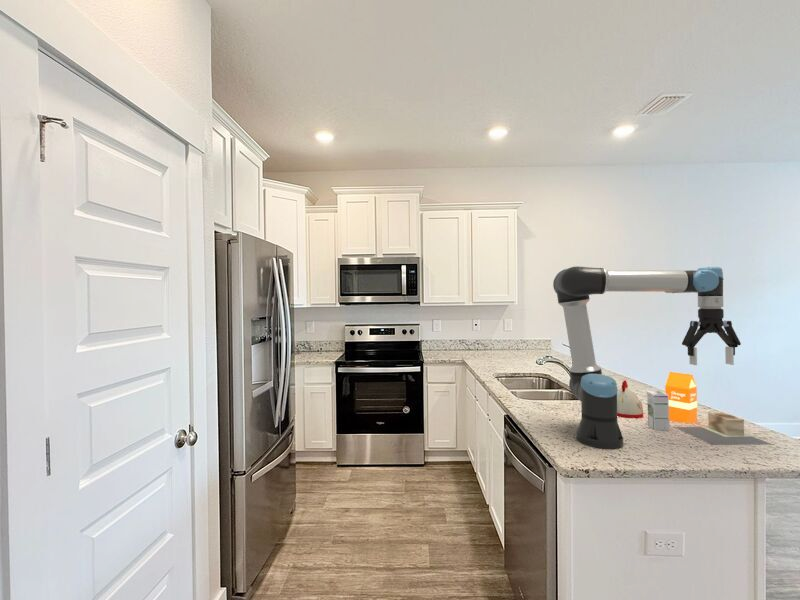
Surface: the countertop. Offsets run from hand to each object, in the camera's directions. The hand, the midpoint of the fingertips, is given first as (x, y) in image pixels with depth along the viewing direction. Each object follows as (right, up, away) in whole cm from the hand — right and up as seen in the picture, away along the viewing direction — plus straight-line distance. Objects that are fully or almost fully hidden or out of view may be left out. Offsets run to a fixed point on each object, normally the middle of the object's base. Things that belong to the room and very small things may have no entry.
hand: (711, 364), depth 145 cm
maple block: (+7, -26, +2) cm, 27 cm away
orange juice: (+2, -27, +19) cm, 33 cm away
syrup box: (-15, -27, +8) cm, 32 cm away
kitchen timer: (-16, -27, +29) cm, 43 cm away
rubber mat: (+2, -27, -1) cm, 27 cm away
